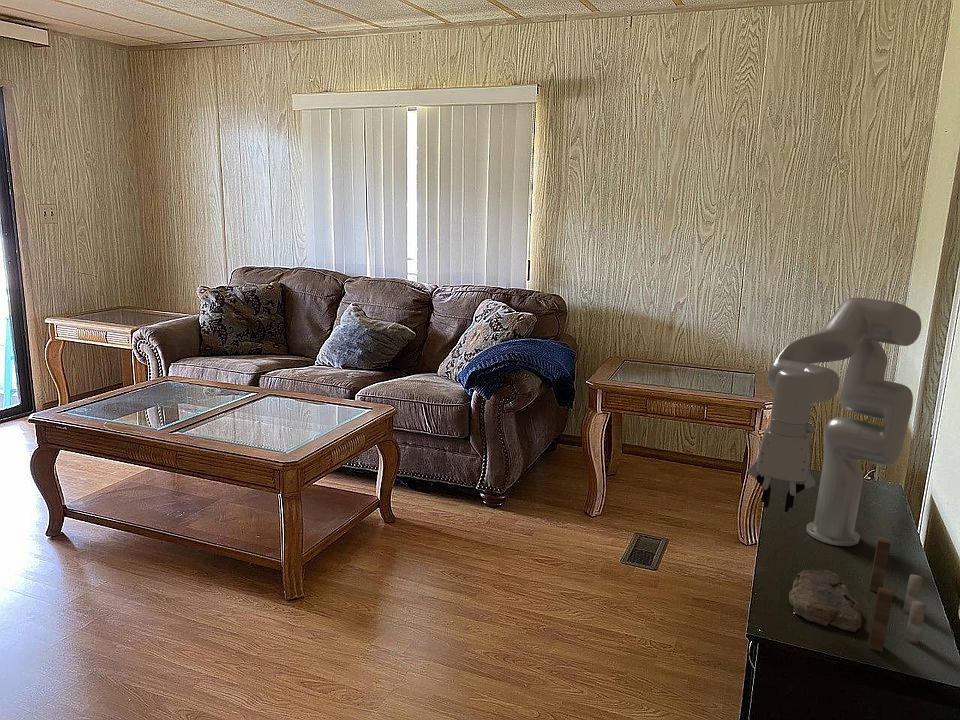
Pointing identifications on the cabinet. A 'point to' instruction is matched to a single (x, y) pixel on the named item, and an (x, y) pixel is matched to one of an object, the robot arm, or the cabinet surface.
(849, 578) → the cabinet surface
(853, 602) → the clay tablet
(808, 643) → the cabinet surface
